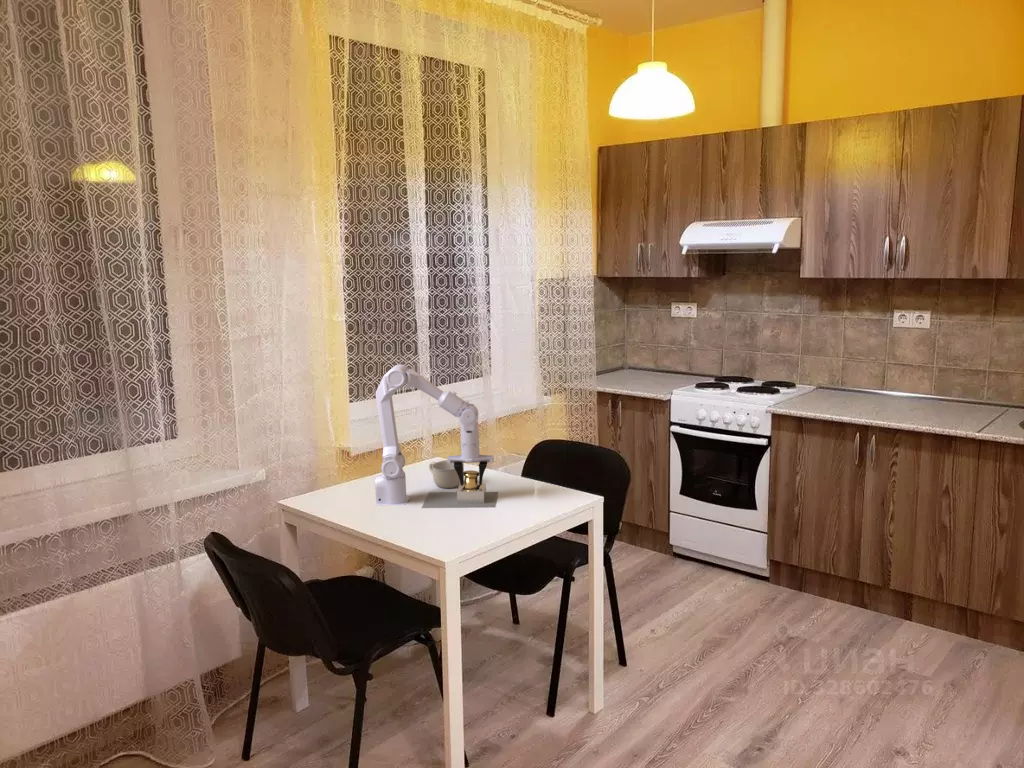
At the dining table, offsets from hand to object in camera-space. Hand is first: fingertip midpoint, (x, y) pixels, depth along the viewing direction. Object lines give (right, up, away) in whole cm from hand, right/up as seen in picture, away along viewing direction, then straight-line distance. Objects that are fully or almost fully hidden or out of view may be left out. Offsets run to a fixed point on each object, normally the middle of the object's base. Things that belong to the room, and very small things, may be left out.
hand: (471, 484), depth 243 cm
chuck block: (0, -5, +1) cm, 5 cm away
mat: (-3, -5, +1) cm, 6 cm away
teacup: (-10, -3, +18) cm, 21 cm away
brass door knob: (0, -4, +1) cm, 4 cm away
